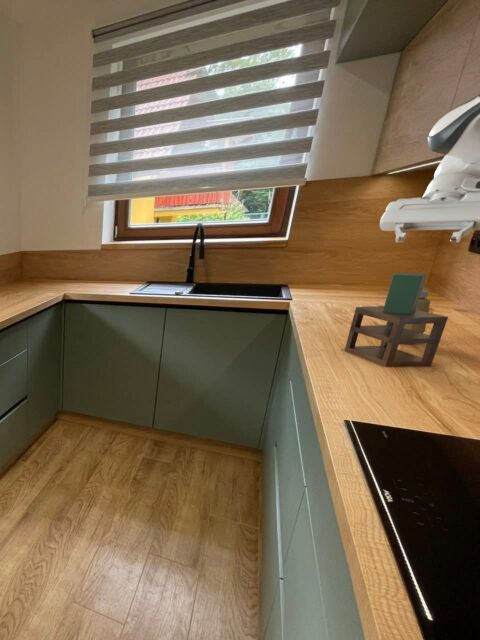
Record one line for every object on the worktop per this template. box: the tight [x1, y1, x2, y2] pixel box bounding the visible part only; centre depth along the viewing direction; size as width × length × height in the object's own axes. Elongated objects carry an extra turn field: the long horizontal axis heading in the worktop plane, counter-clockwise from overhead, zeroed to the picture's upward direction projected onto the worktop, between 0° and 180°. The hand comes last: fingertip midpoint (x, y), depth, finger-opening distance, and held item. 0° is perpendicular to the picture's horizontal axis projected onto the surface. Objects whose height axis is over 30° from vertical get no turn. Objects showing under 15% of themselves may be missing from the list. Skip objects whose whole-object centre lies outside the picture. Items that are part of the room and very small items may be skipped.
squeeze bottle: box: [385, 284, 431, 334], centre depth 119 cm, size 8×8×18 cm
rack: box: [344, 305, 449, 368], centre depth 107 cm, size 10×14×12 cm
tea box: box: [383, 272, 428, 314], centre depth 104 cm, size 5×5×9 cm
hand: (426, 240), depth 102 cm, fingers open, 8 cm apart
